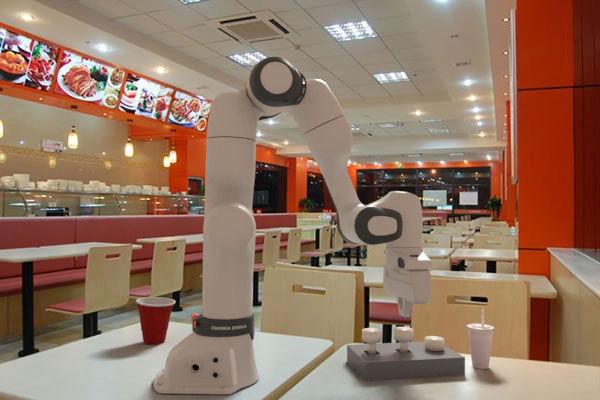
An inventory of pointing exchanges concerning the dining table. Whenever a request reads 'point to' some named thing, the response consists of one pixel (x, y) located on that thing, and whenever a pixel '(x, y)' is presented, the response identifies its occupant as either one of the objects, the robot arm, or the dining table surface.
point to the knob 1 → (371, 338)
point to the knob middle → (403, 337)
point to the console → (404, 362)
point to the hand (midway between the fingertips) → (404, 316)
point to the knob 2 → (434, 343)
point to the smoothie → (480, 343)
